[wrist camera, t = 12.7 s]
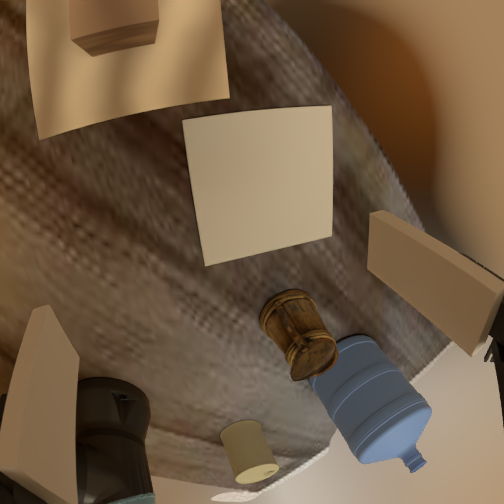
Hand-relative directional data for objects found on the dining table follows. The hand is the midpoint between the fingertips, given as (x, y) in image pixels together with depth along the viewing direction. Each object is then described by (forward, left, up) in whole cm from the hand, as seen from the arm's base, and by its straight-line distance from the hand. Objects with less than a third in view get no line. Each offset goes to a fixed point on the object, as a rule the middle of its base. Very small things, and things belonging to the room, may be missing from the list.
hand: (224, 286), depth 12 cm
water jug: (+25, -44, -26) cm, 57 cm away
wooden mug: (+12, -24, -26) cm, 37 cm away
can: (+2, -57, -26) cm, 63 cm away
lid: (-3, +14, -18) cm, 23 cm away
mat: (+11, -5, -26) cm, 28 cm away
